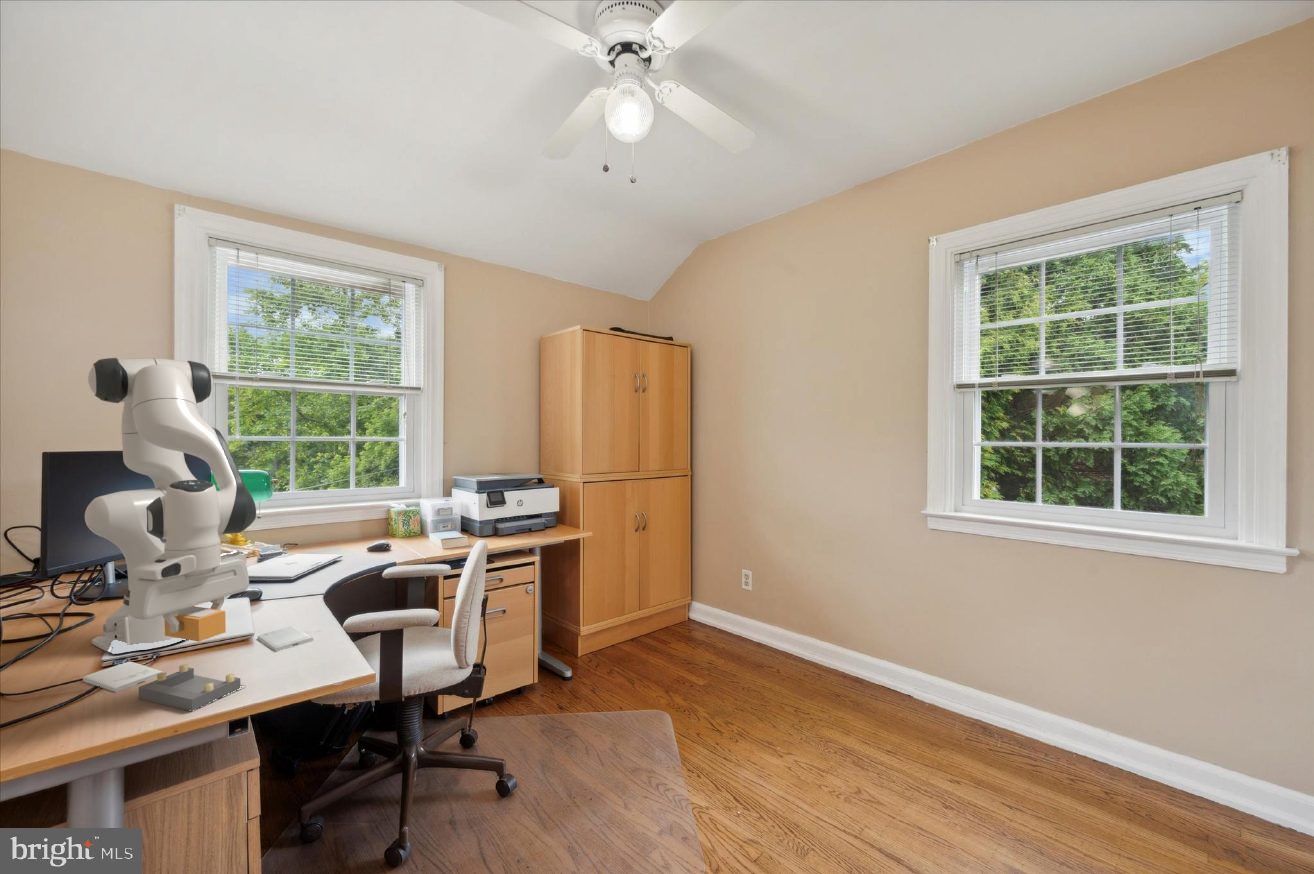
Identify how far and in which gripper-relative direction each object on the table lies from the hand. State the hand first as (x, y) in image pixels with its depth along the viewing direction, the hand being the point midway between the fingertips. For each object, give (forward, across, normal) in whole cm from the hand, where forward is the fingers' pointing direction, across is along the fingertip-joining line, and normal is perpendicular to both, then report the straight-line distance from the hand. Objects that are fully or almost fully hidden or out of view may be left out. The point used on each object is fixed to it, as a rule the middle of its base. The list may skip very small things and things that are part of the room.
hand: (194, 625), depth 111 cm
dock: (+14, 0, 0) cm, 14 cm away
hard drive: (+15, -25, -7) cm, 30 cm away
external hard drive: (+15, +1, -22) cm, 26 cm away
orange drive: (+2, 0, 0) cm, 2 cm away
